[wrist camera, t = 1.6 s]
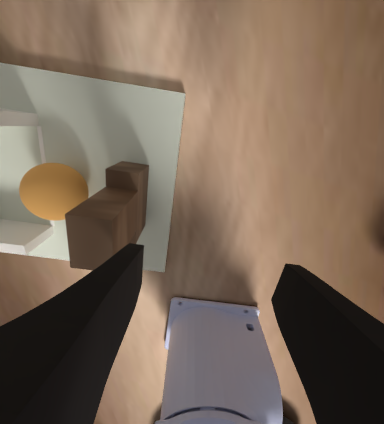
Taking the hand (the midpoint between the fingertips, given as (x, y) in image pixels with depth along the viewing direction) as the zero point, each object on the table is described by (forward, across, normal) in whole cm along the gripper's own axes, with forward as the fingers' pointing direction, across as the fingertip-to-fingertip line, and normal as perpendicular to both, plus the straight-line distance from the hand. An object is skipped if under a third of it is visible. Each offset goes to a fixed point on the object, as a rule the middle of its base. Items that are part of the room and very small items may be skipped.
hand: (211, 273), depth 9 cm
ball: (+7, +10, 0) cm, 12 cm away
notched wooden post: (+8, +6, 0) cm, 10 cm away
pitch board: (+9, +10, 0) cm, 14 cm away
